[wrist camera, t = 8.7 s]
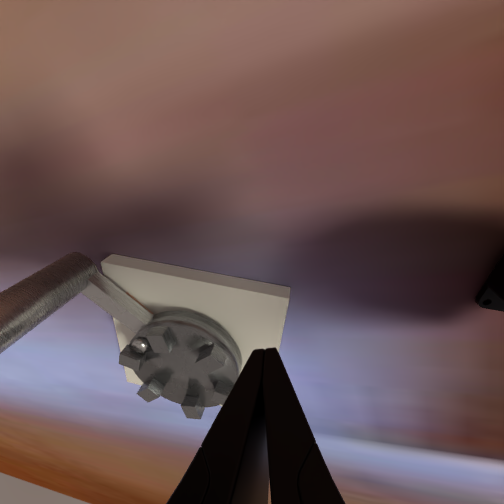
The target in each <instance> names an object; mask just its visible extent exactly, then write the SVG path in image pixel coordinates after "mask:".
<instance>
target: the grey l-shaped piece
mask: <svg viewBox="0 0 504 504" xmlns="http://www.w3.org/2000/svg"><path fill="white" fill-rule="evenodd" d="M79 293H82V294H84V295H85V296H86V297H88V298H89V299H90V300H92V301H93V302H94V303H95V304H97V305H98V306H99V307H101V308H102V309H103V310H105V311H106V312H107V313H109V314H110V315H111V316H113V317H114V318H115V319H117V320H118V321H119V322H121V323H122V324H123V325H124V326H126V327H127V328H128V329H130V330H131V331H132V332H134V333H135V334H136V335H135V336H134V337H133V339H132V340H131V341H130V344H129V345H128V344H127V345H126V346H125V348H124V349H123V350H122V351H121V353H120V356H119V364H121V365H123V366H126V367H128V368H131V369H133V371H134V372H135V374H136V375H137V376H138V378H139V379H140V380H141V381H142V382H143V384H142V386H141V387H140V389H139V391H138V392H137V394H138V395H139V396H140V397H142V398H143V399H144V400H145V401H147V402H150V401H152V400H154V399H156V398H159V397H160V396H162V397H164V398H166V399H168V400H171V401H173V402H176V403H179V404H181V407H182V409H183V411H184V413H185V415H186V417H187V418H192V419H201V417H202V414H203V411H204V409H205V408H204V407H212V406H217V405H220V404H221V405H223V404H224V402H225V400H226V399H227V397H228V395H229V393H230V391H231V389H232V388H233V386H234V384H235V382H236V380H237V378H238V377H239V375H240V372H241V368H242V356H241V352H240V349H239V347H238V345H237V344H236V342H235V341H234V339H233V338H232V337H231V336H230V335H229V333H228V332H227V331H225V330H224V329H223V328H222V327H221V326H219V325H218V324H216V323H215V322H213V321H211V320H209V319H207V318H205V317H203V316H201V315H198V314H195V313H191V312H186V311H165V312H161V313H158V314H155V315H153V314H151V313H150V312H149V311H147V310H146V309H145V308H144V307H142V306H141V305H140V304H139V303H137V302H136V301H135V300H134V299H132V298H131V297H130V296H128V295H127V294H126V293H125V292H123V291H122V290H121V289H120V288H118V287H117V286H116V285H115V284H113V283H112V282H111V281H109V280H108V279H107V278H106V277H104V276H103V275H102V274H101V273H99V272H98V269H97V267H96V265H95V264H94V262H93V261H92V260H91V259H90V258H88V257H87V256H85V255H83V254H81V253H77V252H73V253H70V254H68V255H66V256H64V257H63V258H61V259H59V260H57V261H56V262H54V263H52V264H50V265H48V266H47V267H45V268H43V269H41V270H40V271H38V272H36V273H34V274H32V275H31V276H29V277H27V278H25V279H24V280H22V281H20V282H18V283H17V284H15V285H13V286H11V287H9V288H8V289H6V290H4V291H2V292H1V293H0V354H1V353H2V352H3V351H5V350H6V349H7V348H8V347H10V346H11V345H12V344H14V343H15V342H16V341H18V340H19V339H20V338H22V337H23V336H24V335H25V334H27V333H28V332H29V331H31V330H32V329H33V328H35V327H36V326H37V325H39V324H40V323H41V322H43V321H44V320H45V319H46V318H48V317H49V316H50V315H52V314H53V313H54V312H56V311H57V310H58V309H60V308H61V307H62V306H63V305H65V304H66V303H67V302H69V301H70V300H71V299H73V298H74V297H75V296H77V295H78V294H79Z"/></svg>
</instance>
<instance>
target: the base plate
mask: <svg viewBox="0 0 504 504" xmlns="http://www.w3.org/2000/svg"><path fill="white" fill-rule="evenodd" d="M101 267H102V271H103V276H104V277H106V278H107V279H108V280H109V281H111V282H112V283H113V284H115V285H116V286H117V287H118V288H120V289H121V290H122V291H123V292H125V293H126V294H127V295H128V296H130V297H131V298H132V299H134V300H135V301H136V302H137V303H139V304H140V305H141V306H142V307H144V308H145V309H146V310H147V311H149V312H150V313H151V314H153V315H155V314H158V313H161V312H165V311H186V312H191V313H195V314H198V315H201V316H203V317H205V318H207V319H209V320H211V321H213V322H215V323H216V324H218V325H219V326H221V327H222V328H223V329H224V330H225V331H227V332H228V333H229V335H230V336H231V337H232V338H233V339H234V341H235V342H236V344H237V345H238V347H239V349H240V352H241V356H242V368H241V371H242V369H243V367H244V366H245V364H246V362H247V360H248V358H249V356H250V355H251V353H252V351H253V350H254V349H262V348H263V349H266V348H272V347H275V348H277V350H278V352H279V347H280V342H281V337H282V332H283V328H284V323H285V318H286V313H287V308H288V303H289V298H290V288H291V287H286V286H280V285H275V284H270V283H264V282H259V281H254V280H248V279H243V278H238V277H233V276H227V275H222V274H217V273H211V272H206V271H201V270H195V269H190V268H185V267H180V266H174V265H169V264H164V263H158V262H153V261H148V260H142V259H137V258H132V257H127V256H121V255H116V254H111V255H110V256H108V257H107V258H106V259H104V260H103V261H101ZM113 320H114V324H115V329H116V333H117V338H118V342H119V347H120V351H122V350H123V349H124V348H125V346H126V345H127V344H128V345H129V344H130V341H131V340H132V339H133V337H134V336H135V335H136V334H135V333H134V332H132V331H131V330H130V329H128V328H127V327H126V326H124V325H123V324H122V323H121V322H119V321H118V320H117V319H115V318H114V317H113ZM124 369H125V373H126V378H127V382H131V383H135V384H139V385H142V384H143V382H142V381H141V380H140V379H139V378H138V376H137V375H136V374H135V372H134V371H133V369H131V368H128V367H126V366H124ZM240 373H241V372H240ZM220 405H221V404H220ZM221 406H223V405H221Z"/></svg>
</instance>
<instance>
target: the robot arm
mask: <svg viewBox="0 0 504 504" xmlns="http://www.w3.org/2000/svg"><path fill="white" fill-rule="evenodd" d="M486 299H488V300H486ZM484 300H486V301H484ZM475 301H476V303H477V304H478V305H479V306H480V307H482V308H487V309H492V310H498V311H503V312H504V255H503V256H502V258H501V259H500V261H499V263H498V264H497V266H496V267H495V269H494V270H493V272H492V273H491V275H490V276H489V278H488V279H487V281H486V283H485V284H484V286H483V287H482V289H481V290H480V292H479V293H478V295H477V296H476V298H475ZM483 301H484V302H483ZM201 446H202V447H200V448H199V450H198V451H197V453H196V455H195V457H194V459H193V461H192V462H191V464H190V466H189V468H188V469H187V471H186V473H185V474H184V476H183V478H182V480H181V481H180V483H179V484H178V486H177V488H176V489H175V491H174V492H173V494H172V495H171V497H170V499H169V500H168V502H167V503H166V504H268V488H269V478H270V491H271V504H345V502H344V500H343V498H342V496H341V494H340V492H339V491H338V489H337V487H336V485H335V483H334V481H333V479H332V477H331V475H330V472H329V470H328V468H327V466H326V464H325V461H324V459H323V457H322V454H321V452H320V450H319V447H318V445H317V444H316V441H315V438H314V436H313V433H312V431H311V429H310V426H309V424H308V422H307V419H306V417H305V414H304V412H303V410H302V407H301V405H300V403H299V400H298V398H297V395H296V393H295V391H294V388H293V386H292V383H291V381H290V379H289V376H288V374H287V372H286V369H285V367H284V364H283V362H282V360H281V357H280V355H279V353H278V350H277V348H275V347H272V348H266V349H263V348H262V349H254V350H253V351H252V353H251V355H250V356H249V358H248V360H247V362H246V364H245V366H244V367H243V369H242V371H241V373H240V375H239V377H238V378H237V380H236V382H235V384H234V386H233V388H232V389H231V391H230V393H229V395H228V397H227V399H226V400H225V402H224V404H223V406H222V408H221V410H220V411H219V413H218V415H217V417H216V419H215V420H214V422H213V424H212V426H211V428H210V430H209V431H208V433H207V435H206V437H205V439H204V441H203V442H202V444H201Z"/></svg>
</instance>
